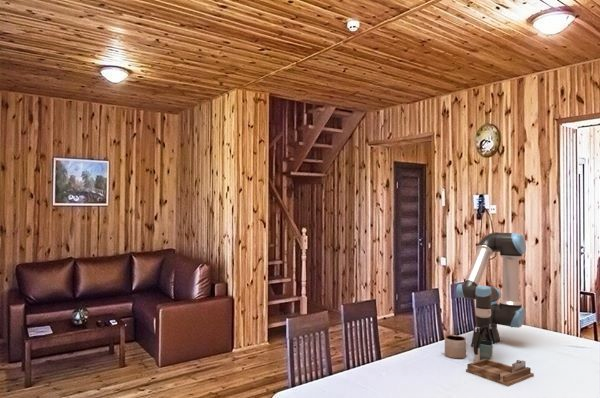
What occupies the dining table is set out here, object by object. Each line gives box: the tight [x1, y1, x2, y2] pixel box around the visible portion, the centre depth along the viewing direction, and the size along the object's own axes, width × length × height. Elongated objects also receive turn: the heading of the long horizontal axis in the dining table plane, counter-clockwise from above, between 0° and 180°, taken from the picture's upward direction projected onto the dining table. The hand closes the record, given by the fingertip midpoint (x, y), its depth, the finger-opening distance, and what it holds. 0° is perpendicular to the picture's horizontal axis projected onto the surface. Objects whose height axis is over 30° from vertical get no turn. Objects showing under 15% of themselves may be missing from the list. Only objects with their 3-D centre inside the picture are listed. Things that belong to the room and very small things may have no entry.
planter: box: [444, 334, 467, 360], centre depth 234 cm, size 11×11×10 cm
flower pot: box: [479, 340, 494, 360], centre depth 228 cm, size 9×9×9 cm
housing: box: [465, 358, 535, 387], centre depth 208 cm, size 21×22×4 cm
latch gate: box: [511, 359, 527, 372], centre depth 205 cm, size 2×9×6 cm, turn 124°
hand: (483, 358), depth 228 cm, fingers closed on flower pot, 11 cm apart
